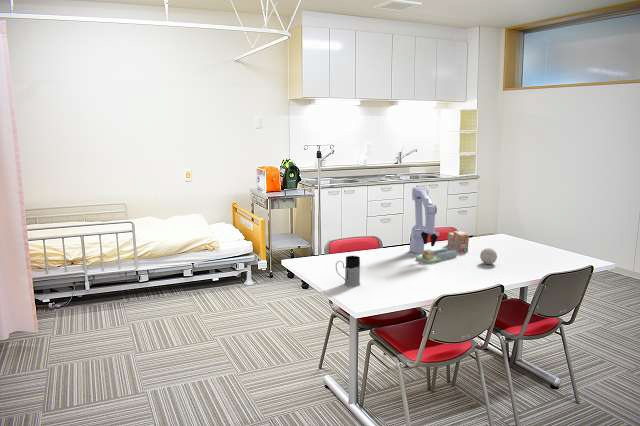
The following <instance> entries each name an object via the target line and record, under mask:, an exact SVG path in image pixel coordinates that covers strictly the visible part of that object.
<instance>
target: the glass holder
mask: <svg viewBox="0 0 640 426" xmlns="http://www.w3.org/2000/svg"><path fill="white" fill-rule="evenodd" d="M339 262H341V264H342V267H343V269H345V270H344V271H345V274H344V275H345V276H342V275H341V274H340V273H339V271H338V267H337V264H338V263H339ZM335 271H336V273H337V274H338V276H339V277H341V278H342V279H343V280H344V285H345V286H346V287H349V288H350V287H351V288H352V287H354V288H355V287H360V286H361V281H360V280H361V279H360V278H361V258H360V256H357V255H348V256H346V257H345V265H344V262H343V261H342V260H338V261H336V263H335Z"/></svg>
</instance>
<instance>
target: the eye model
mask: <svg viewBox="0 0 640 426" xmlns="http://www.w3.org/2000/svg"><path fill="white" fill-rule="evenodd" d="M479 258H480V260H481V262H482V263H483V264H485V265H492V264H495V263H496V261H497V259H498V255H497V252H496V250H494V249H493V248H489V247H487V248H484V249H483V250H481V251H480V254H479Z"/></svg>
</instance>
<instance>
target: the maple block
mask: <svg viewBox="0 0 640 426" xmlns="http://www.w3.org/2000/svg"><path fill="white" fill-rule="evenodd" d="M434 251H435V250H432V249H428V248H427V249H424V250H423V251H422V254H421V256H422V258H424V259H428V260H429V259H433V258H434Z"/></svg>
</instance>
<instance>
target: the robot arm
mask: <svg viewBox="0 0 640 426" xmlns="http://www.w3.org/2000/svg"><path fill="white" fill-rule="evenodd" d="M411 199H412V200H413V201H414V210H415V211H414V214H415V215H414V217H415V225H414V226H413V227H412V228H411V233H410V237H411V239H410V242H409V250H408V252H410V253H413V254H418V255H422V251H423V250H425V245H427V244H428V238H430V246H431V247H434V246H435V244H436V242H437V239H438V238H439V237H440V232H438V231H435V225H436V222H435V221H436V214H437V212H438V211H437V209H438V207H437V205H436V204H434V203H433V201H432V199H431V198H429V188H428V187H413V188H412V190H411ZM423 208H424V216H425V226H424V224H423V223H424V222H423V221H424V220H423Z"/></svg>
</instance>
